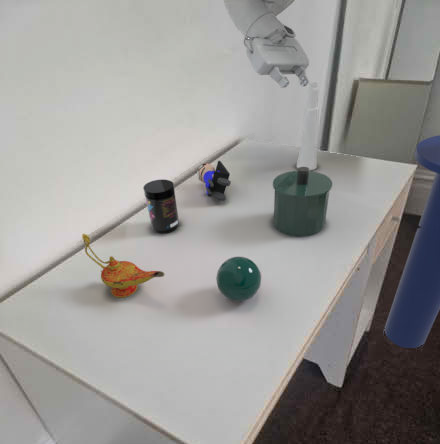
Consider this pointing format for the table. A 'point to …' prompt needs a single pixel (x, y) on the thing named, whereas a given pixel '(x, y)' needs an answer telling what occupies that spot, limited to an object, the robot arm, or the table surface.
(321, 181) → the pot lid
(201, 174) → the character figurine
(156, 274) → the magic lamp
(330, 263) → the table surface
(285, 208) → the pot
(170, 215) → the supplement container
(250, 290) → the sphere
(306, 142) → the cosmetic bottle
